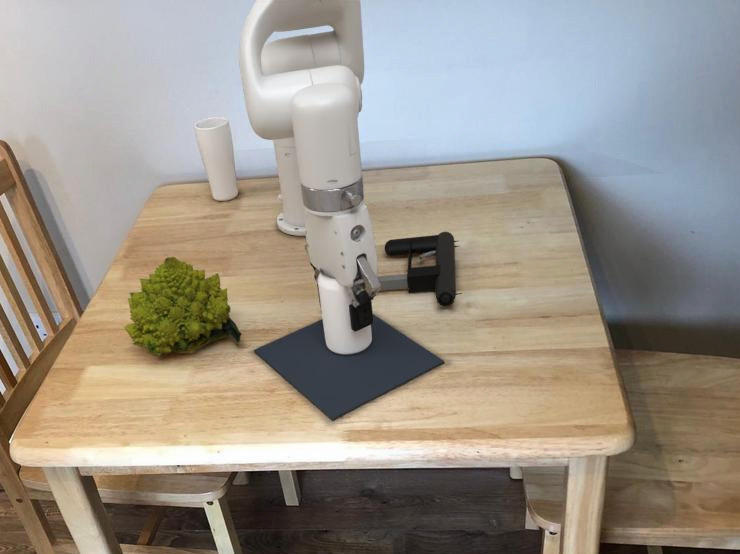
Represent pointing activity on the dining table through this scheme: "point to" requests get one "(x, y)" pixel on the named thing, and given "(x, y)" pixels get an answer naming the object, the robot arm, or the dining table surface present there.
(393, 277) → the door handle
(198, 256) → the dining table surface
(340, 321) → the can
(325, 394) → the mat
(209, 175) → the drinking glass
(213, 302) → the vegetable
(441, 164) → the dining table surface
